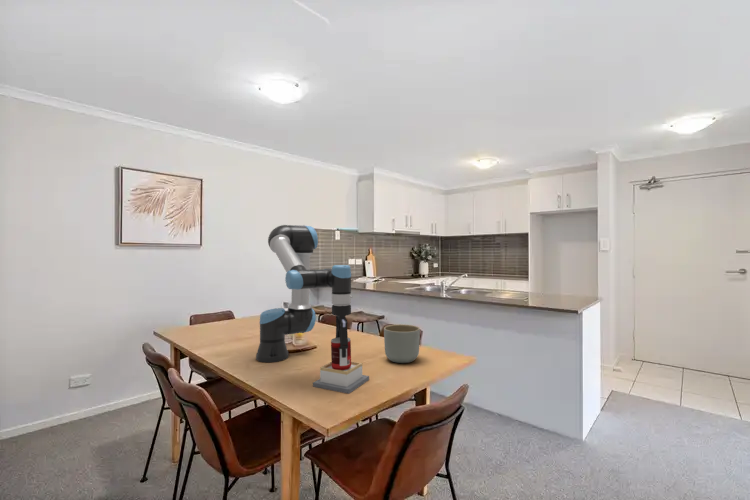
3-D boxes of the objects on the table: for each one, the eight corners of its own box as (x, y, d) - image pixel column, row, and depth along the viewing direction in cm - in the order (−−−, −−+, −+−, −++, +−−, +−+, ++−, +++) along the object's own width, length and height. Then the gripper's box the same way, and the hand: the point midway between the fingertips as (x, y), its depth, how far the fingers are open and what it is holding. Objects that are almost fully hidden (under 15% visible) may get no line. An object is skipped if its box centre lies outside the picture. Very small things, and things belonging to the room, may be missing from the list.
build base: (312, 386, 140) (312, 368, 140) (335, 373, 154) (335, 357, 154) (348, 393, 133) (348, 374, 133) (369, 379, 147) (369, 362, 147)
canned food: (352, 364, 147) (352, 337, 147) (349, 370, 139) (348, 341, 139) (334, 364, 148) (333, 337, 148) (329, 370, 140) (328, 341, 140)
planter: (376, 359, 174) (376, 327, 174) (403, 353, 185) (403, 323, 185) (400, 368, 161) (400, 333, 161) (427, 361, 171) (427, 328, 171)
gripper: (355, 308, 134) (356, 369, 134) (346, 300, 155) (346, 353, 155) (335, 309, 132) (335, 371, 132) (328, 301, 153) (328, 354, 153)
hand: (341, 361), depth 143 cm, fingers open, 9 cm apart
